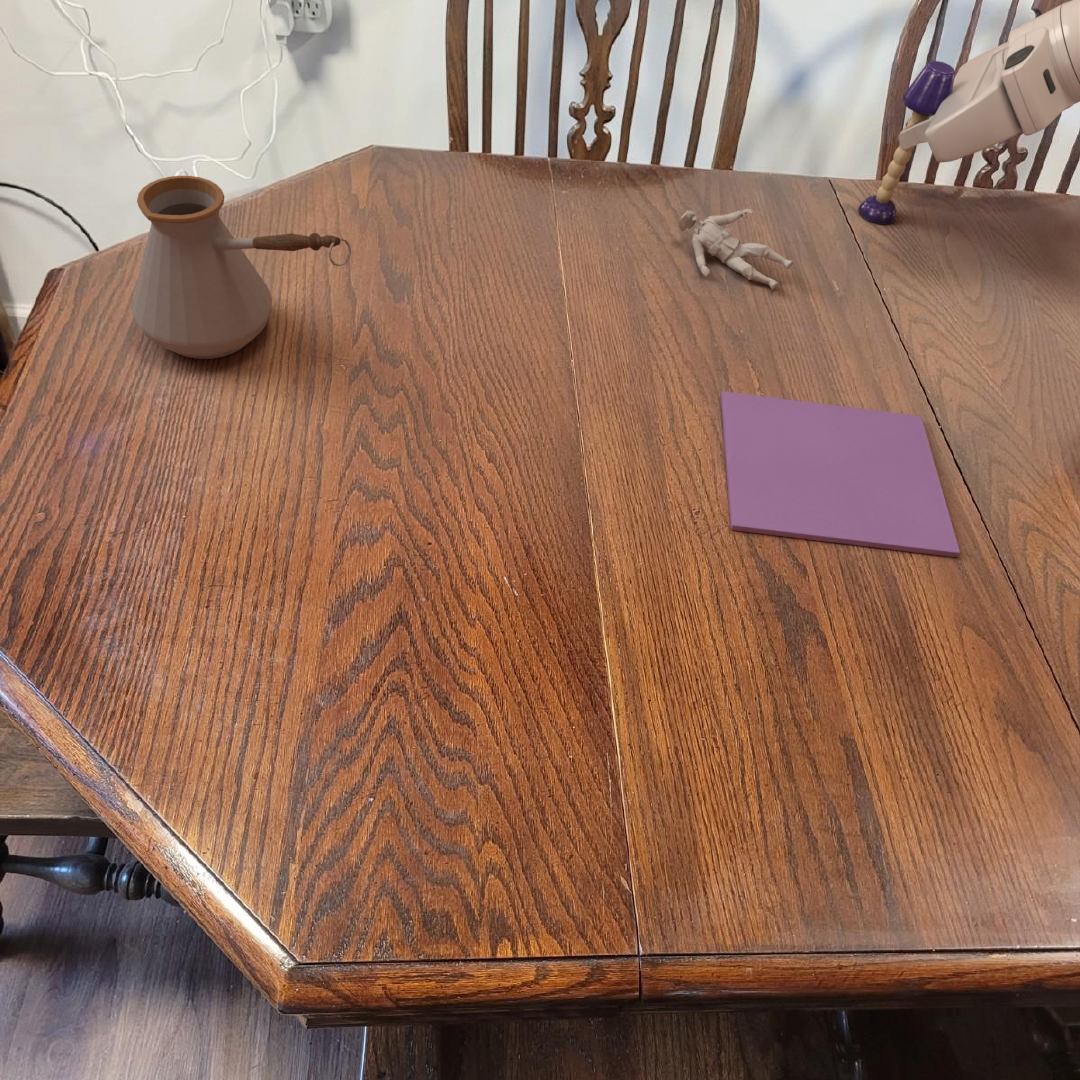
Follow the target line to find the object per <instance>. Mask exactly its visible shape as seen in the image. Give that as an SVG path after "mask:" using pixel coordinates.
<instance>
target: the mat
mask: <svg viewBox="0 0 1080 1080" xmlns="http://www.w3.org/2000/svg"><path fill="white" fill-rule="evenodd" d="M720 408H721V420H722V421H721V422H722V433H723V447H724V459H725V473H726V485H727V496H728V510H729V521H730V522H729V523H730V529H731V530H730V531H735V532H736V531H737V532H743V533H744V532H745V533H752V534H753V533H754V534H762V535H770V536H779V537H784V538H785V537H786V538H793V539H803V540H811V541H817V542H818V541H819V542H828V543H836V544H844V545H851V546H860V547H869V548H876V549H885V550H893V551H900V552H910V553H919V554H926V555H933V556H943V557H951V558H958V557H959V556H960V554H961V550H960V546H959V544H958V540H957V536H956V533H955V529H954V526H953V522H952V519H951V516H950V511H949V508H948V504H947V502H946V501H947V500H946V498H945V494H944V491H943V487H942V484H941V481H940V476H939V473H938V469H937V466H936V463H935V460H934V455H933V453H932V452H933V451H932V449H931V445H930V441H929V437H928V434H927V431H926V428H925V424H924V421H923V417H922V416H921V415H917V414H915V415H914V414H907V413H900V412H891V411H883V410H876V409H868V408H859V407H852V406H844V405H835V404H828V403H820V402H812V401H803V400H797V399H796V400H795V399H788V398H780V397H772V396H763V395H757V394H749V393H748V394H747V393H739V392H732V391H724V390H723V391H721V393H720Z"/></svg>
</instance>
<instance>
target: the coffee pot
mask: <svg viewBox="0 0 1080 1080" xmlns="http://www.w3.org/2000/svg"><path fill="white" fill-rule="evenodd" d="M136 199H137V200H136V204H137V206H138V208H139V210H140V212H141V213H142V215H143V216H144V217H145V218H146V219H147V220H148V221H150V223H151V224H150V227H149V231H148V236H147V240H146V243H145V244H146V245H145V248H144V253H143V257H142V260H141V265H140V268H139V273H138V277H137V280H136V281H137V282H136V286H135V290H134V293H133V298H132V301H131V314H132V317H133V321H134V323H135V324H136V326H137V328H139V329H140V331H141V332H142V333H143V334H144V336H146V338H147V339H148V340H150V341H151V342H153V343H155V344H156V345H158V347H161V348H162V349H165V350H168V351H170V352H174V353H176V354H178V355H181V356H183V357H186V358H191V359H197V360H210V359H217V358H222V357H223V358H224V357H226V356H229V355H232V354H235V353H236V352H238V351H239V350H241V349H243V348H244V347H246V346H247V344H249V343H250V342H252V341H253V340H254V339H255V338H256V337H258V335H259V334H260V333H261V332H262V331H263V330H264V329H265V327H266V324H267V323H268V321H269V319H270V317H271V313H272V309H273V296H272V294H271V292H270V289H269V287H268V285H267V284H266V283H265V281H264V279H263V278H262V276H261V275H260V274H259V272H258V271H257V268H255V266H254V265H253V263H252V262H251V261H250V259H249V258H248V256H247V255H246V254H245V252H244V250H248V249H256V250H267V251H284V252H285V251H286V252H295V251H296V252H297V251H300V250H304V249H311V250H312V251H319V250H320V249H322V248H327V249H328V251H327V255H328V260H329V261H330V263H331V264H332V265H333V266H336V267H341V266H345V265H346V264H347V263H348V262H349V260H351V259H350V258H351V254H352V247H351V244H350V243H349V241H348V240H347V239H344V238H340V237H339V236H335V235H329V234H325V235H323V236H321V235H320V234H319V233H317V232H313V233H310V234H309V235H305V234H304V235H303V234H297V233H283V234H282V233H281V234H274V235H273V234H272V235H263V236H256V237H234V236H233V235H232V233H231V231H230V230H229V229H228V228H227V226H226V225H225V223H224V222H223V220H222V219H221V217H220V210H221V209H222V208H223V206H224V203H225V194H224V192H223V190H222V188H221V187H220V186H219V185H218V184H217V183H215V182H214V181H212V180H210V179H207V178H203V177H201V176H195V175H194V176H193V175H173V176H166V177H163V178H157V179H155V180H154V181H151V182H149V183H147V184H146V185H145V186H143V187H142V188H141V190H140V191H139V192H138V194H137V198H136ZM341 241H342V242H344V243H345V244H346V246H347V250H348V254H347V257H346V259H345V260H344V262H343V263H336V262H335V261H334V260H333V258H332V253H331V252H332V250H333V248H334V247H337V246H340V244H341V243H342V242H341Z"/></svg>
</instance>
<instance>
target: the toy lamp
mask: <svg viewBox="0 0 1080 1080" xmlns="http://www.w3.org/2000/svg"><path fill="white" fill-rule="evenodd" d="M955 76H956V71H955V68H954V67H953V66H952V65H950V64H948V63H946V62H944V61H939V60H931V61H929V62H927V63H926V64H925V65H924V66H923V68H922V69H921V70H920V72H919V73H918V75H917V76H916V77H915V79H913V81H912V83H911V84H910V86H909V87H908V88H907V90H906V91H905V93H904V95H903V96H902V97H903V98H902V102H903V104H904V106H905V107H906V108H907V109H909V110H910V111H912V113H911V116H912V119H911V120H910V121H909V122H908V124H907V126H906V125H905V128H906V127H908V126H910V125H912V124H914V123H917V124H918V123H921V122H923V121H925V120H927V119H928V117H929V116H933V115H935V113H936V112H937V110H938V108H939V106H940V104H941V102H942V101H943V100H944V99H945V98H946V97H947V96H949V95H950V94H951V92H952V88H953V83H954V78H955ZM916 146H917V145H915V146H913V147H911V148H909V149H903V148H902V146H901V143H900V142H899V146H898V147H897V148H896V150H895V152H894V154H893V159H892V160H891V161H890V163H889V165H888V168H887V173H885V175H884V176H883V178H882V181H881V186H879V188H878V190H877V192H876V195H875V194H874V195H871V196H868V197H867V198H865V199H864V200H863V201H862V202H861V203H860V205H859V207H858V213H859V214H860V216H861V217H862V218H863V219H865V220H867V221H868V222H871V223H874V224H877V225H878V224H879V225H890V224H892V223H894V222H895V220H896V217H897V207H896V204H895V203H894V202H893V200H891V199H892V198H893V196H894V194H895V193H894V191H895V189H896V188H897V187H898V185H899V183H900V180H901V179H900V177H901V176H902V175H903V174H904V172H905V171H906V167H907V166H906V165H907V163H908V162H909V161H910V159H911V158H912V154H913V150H914V149H915V147H916Z"/></svg>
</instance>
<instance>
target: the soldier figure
mask: <svg viewBox="0 0 1080 1080" xmlns="http://www.w3.org/2000/svg"><path fill="white" fill-rule="evenodd" d="M695 213H696V211H694V210H691V209H687V210H685V212H684V213H682V215H681V217H680V220H679V222H678V228H679V229H680V232H681V233H683V232H684V231H685V230H686V229H688V230H691V229H692V231H693V233H694V234H693V235H692V238H691V243H692V247H693V250H694V251H693V252H694V256H695V261H696V264H697V267H698V269H699V270H700V272H701V274H703V276H704V277H708V275H709V274H710V272H711V269H709V268H708V267H707V266H706V265H707V263H706V258H705V250H704V248H705V249H707V252H708V253H709V254H710V255H711V256H712V257H714V256H715V257H716V258H717V259H719V260H720V261H721V262H722V263H723V264H724V265H726V266H728V267H729V268H730V269H732V270H734V271H735V272H736V273H739V274H741V275H742V276H743V277H744V278H747V279H748V281H752V280H754V281H758V282H761V283H764V284H768V286H769V287H770V289H772V290H775V288H776V287H777V286H778V285H779V282H777V280H775V279H774V278H772V277H768V276H766V275H764V274H763V273H762V272H760V271H758V270H757V269H756V268H755V267H754V266H753V265H752V264H750V263H748V262H747V261H745V260H744V258H745V259H746V258H751V257H752V258H764V259H766V260H767V259H768V260H770V261H772V262H775V263H779V264H781V265H783V267H784V268H785V269H787V270H790V269H791V268H792V266H793V265H794V263H795V261H794V260H789V259H786V258H785V257H783V256H782V255H780V254H779V253H778V252H776V251H775V250H774V249H772V248H771V247H770V246H769V245H767V244H765V245H764V244H762V243H758V242H757V243H756V242H747V243H741V240H740V239H738V238H736V237H734V235H732V234H733V230H732V231H731V230H730V229H729V228H727V227H724V229H723V227H722V226H724V225H725V226H726V225H730V224H733V223H736V221H738V220H739V219H741V218H743V217H744V218H748V217H747V216H746V215H747V214H751V213H754V210H752V208H751V209H750V208H745V209H740V210H738V211H734V212H730V213H727V214H720V215H708V216H707V217H706V218H705V219H703V220H698V216H696V215H695Z"/></svg>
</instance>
